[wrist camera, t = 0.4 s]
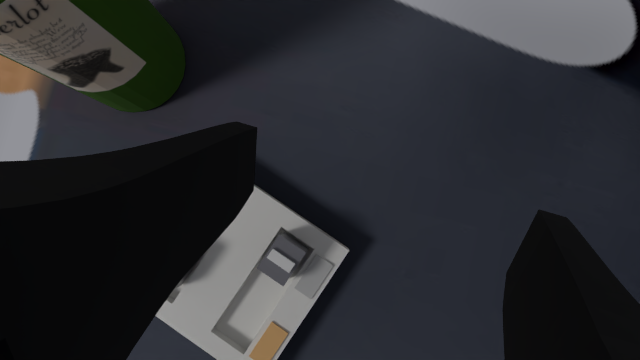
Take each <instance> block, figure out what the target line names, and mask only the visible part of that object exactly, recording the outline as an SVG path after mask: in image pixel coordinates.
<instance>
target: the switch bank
mask: <svg viewBox="0 0 640 360" xmlns="http://www.w3.org/2000/svg"><path fill="white" fill-rule="evenodd" d="M284 232H285V233H287V234H288V235H290V236H291V237H293V238H294V239H296V240H297V241H299V242H300V243H302V244H303V245H304V246H306V247H307V248H308V250H307V252H306V254H305V255H304V256H303V258H302V259H301V261H300V262H299V264H298V265H297V267H296V268H295V270H294V271H293V273H292V274H291V276H290V277H289V279H288V280H287V282H286V283H285V285H284V286H282V285H280V284H279V283H277V282H276V281H274V280H273V279H272V278H270V277H269V276H267V275H266V274H264V273H263V272H261V271H260V270H258V269H257V267H258V265H259V264H260V262H261V261H262V259H263V258H264V257H265V255H266V254H267V252H268V251H269V249H270V248H271V246H272V245H273V243H274V242H275V240H276V239H277V237H278V236H279V234H281V233H284ZM348 252H349V249H348V247H346V246H345V245H343V244H342V243H340V242H339V241H337V240H336V239H334V238H333V237H331V236H330V235H328V234H327V233H325V232H324V231H323V230H321V229H320V228H318V227H317V226H315V225H314V224H312V223H311V222H309V221H308V220H306V219H305V218H303V217H302V216H300V215H299V214H297V213H296V212H294V211H293V210H292V209H290V208H289V207H287V206H286V205H284V204H283V203H281V202H280V201H278V200H277V199H275V198H274V197H272V196H271V195H269V194H268V193H266V192H265V191H263V190H262V189H261V188H259V187H258V186H256V185H255V184H254V191H253V192H252V194H251V196H250V197H249V199H248V200H247V202H246V204H245V205H244V207H243V208H242V210H241V211H240V213H239V214H238V215H237V217H236V218H235V219H234V221H233V222H232V223H231V224H230V225H229V226H228V228H227V229H226V230H225V231H224V232H223V233H222V234H221V235H220V237H219V238H218V239H217V240H216V241H215V242H214V243H213V244H212V246H211V247H210V248H209V249H208V250H207V251H206V252H205V253H204V254H203V256H202V257H201V258H200V259H199V261H198V262H197V264H196V265H195V267H194V268H193V270H192V271H191V273H190V274H189V276H188V277H187V278H186V280H185V281H184V283H183V284H182V285H181V286H179V287H177V288H176V289H174V290H173V291H172V293H171V294H170V295H169V297H168V298H167V300H166V301H165V302H164V304H163V305H162V307H161V308H160V309H159V311H158V312H157V314H156V315H155V316H157V317H158V318H159V319H161V320H162V321H164V322H165V323H166V324H168V325H169V326H171V327H172V328H173V329H175V330H176V331H178V332H179V333H180V334H182V335H183V336H185V337H186V338H187V339H189V340H190V341H192V342H193V343H195V344H196V345H197V346H199V347H200V348H202V349H203V350H204V351H206V352H207V353H209V354H210V355H211V356H213V357H214V358H216V359H217V360H277V359H278V357H279V356H280V354H281V353H282V351H283V350H284V348H285V347H286V345H287V344H288V342H289V341H290V339H291V338H292V336H293V335H294V333H295V332H296V330H297V329H298V327H299V326H300V324H301V323H302V321H303V320H304V318H305V317H306V315H307V314H308V312H309V311H310V309H311V308H312V306H313V305H314V303H315V301H316V300H317V298H318V297H319V295H320V294H321V292H322V291H323V289H324V288H325V286H326V285H327V283H328V282H329V280H330V279H331V277H332V276H333V274H334V273H335V271H336V270H337V268H338V267H339V265H340V264H341V262H342V261H343V259H344V258H345V256H346V255H347V253H348Z"/></svg>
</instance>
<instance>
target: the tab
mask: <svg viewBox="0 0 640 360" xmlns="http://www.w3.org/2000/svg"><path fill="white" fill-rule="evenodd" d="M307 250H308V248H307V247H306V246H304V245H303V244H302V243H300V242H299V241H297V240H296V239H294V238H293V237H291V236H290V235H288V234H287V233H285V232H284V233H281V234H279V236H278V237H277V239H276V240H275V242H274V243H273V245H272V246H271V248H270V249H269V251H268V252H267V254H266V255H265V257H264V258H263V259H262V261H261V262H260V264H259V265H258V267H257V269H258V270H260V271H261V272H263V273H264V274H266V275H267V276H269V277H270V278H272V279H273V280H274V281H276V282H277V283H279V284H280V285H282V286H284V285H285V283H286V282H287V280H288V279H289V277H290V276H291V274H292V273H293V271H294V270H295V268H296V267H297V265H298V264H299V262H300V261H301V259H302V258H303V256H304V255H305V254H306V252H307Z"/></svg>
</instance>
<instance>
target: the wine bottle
mask: <svg viewBox="0 0 640 360" xmlns="http://www.w3.org/2000/svg"><path fill="white" fill-rule="evenodd" d="M0 55H2V56H4V57H7V58H9V59H11V60H13V61H15V62H17V63H19V64H21V65H23V66H26V67H28V68H30V69H32V70H34V71H36V72H38V73H40V74H42V75H45V76H47V77H49V78H51V79H53V80H55V81H57V82H59V83H62V84H64V85H66V86H68V87H70V88H72V89H74V90H76V91H78V92H81V93H83V94H85V95H87V96H89V97H91V98H93V99H95V100H97V101H100V102H102V103H104V104H106V105H108V106H110V107H113V108H115V109H117V110H120V111H126V112H140V111H147V110H150V109H153V108H155V107H158V106H160V105H161V104H163V103H164V102H166V101H167V100H168V99H170V98H171V97H172V95H173V94H174V93H175V92H176V90H177V89H178V88H179V85H180V83H181V81H182V79H183V76H184V71H185V65H186V64H185V53H184V48H183V45H182V43H181V40H180V38H179V36H178V35H177V34H176V32H175V31H174V30H173V28H172V27H171V26H170V25H169V23H168V22H167V21H166V20H165V19H164V18H163V17H162V15H161V14H160V13H159V12H158V11H157V10H156V8H155V7H154V6H153V5H152V4H151V3H150V1H149V0H0Z"/></svg>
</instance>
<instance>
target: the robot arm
mask: <svg viewBox="0 0 640 360" xmlns="http://www.w3.org/2000/svg"><path fill="white" fill-rule="evenodd" d="M256 140H257V127H253V126H250V125H247V124H243V123H240V122H231V123H226V124H222V125H218V126H214V127H210V128H206V129H203V130H199V131H196V132H192V133H188V134H185V135H181V136H178V137H174V138H170V139H166V140H162V141H158V142H154V143H150V144H145V145H141V146H137V147H133V148H128V149H123V150H118V151H112V152H106V153H99V154H93V155H86V156H77V157H66V158H55V159H44V160H31V161H4V162H0V360H126V359H127V358H128V356H129V354H130V353H131V351H132V350H133V348H134V346H135V345H136V343H137V342H138V340H139V339H140V337H141V336H142V334H143V333H144V331H145V330H146V329H147V327H148V326H149V324H150V323H151V321H152V320H153V318H154V317H155V315H156V314H157V312H158V311H159V309H160V308H161V307H162V305H163V304H164V302H165V301H166V300H167V298H168V297H169V295H170V294H171V293H172V291H173V290H174V288H175V287H176V286H177V285H178V283H179V282H180V281H181V280H182V278H183V277H184V276H185V275H186V273H187V272H188V271H189V270H190V269H191V268H192V267H193V266H194V265H195V263H196V262H197V261H198V260H199V259H200V258H201V257H202V256H203V254H204V253H205V252H206V251H207V250H208V249H209V248H210V247H211V246H212V244H213V243H214V242H215V241H216V240H217V239H218V238H219V237H220V235H221V234H222V233H223V232H224V231H225V230H226V229H227V228H228V226H229V225H230V224H231V223H232V222H233V221H234V219H235V218H236V217H237V215H238V214H239V213H240V211H241V210H242V208H243V207H244V205H245V204H246V202H247V200H248V199H249V197H250V196H251V194H252V192H253V191H254V176H255V158H256ZM503 333H504V355H505V360H640V304H639V303H638V302H637V301H636V300H635V299H634V298H633V297H632V295H631V294H630V293H629V292H628V291H627V290H626V289H625V287H624V286H623V285H622V284H621V283H620V282H619V280H618V279H617V278H616V277H615V276H614V274H613V273H612V272H611V271H610V270H609V268H608V267H607V266H606V265H605V263H604V262H603V261H602V260H601V258H600V257H599V256H598V255H597V254H596V252H595V251H594V250H593V248H592V247H591V246H590V245H589V243H588V242H587V241H586V240H585V238H584V237H583V236H582V235H581V233H580V232H579V231H578V230H577V228H576V227H575V226H574V225H573V224H572V223H571V222H570V220H569V219H568V218H566V217H563V216H560V215H556V214H553V213H549V212H546V211H542V210H538V212H537V214H536V216H535V218H534V220H533V222H532V224H531V226H530V228H529V230H528V232H527V234H526V236H525V238H524V240H523V241H522V243H521V245H520V247H519V249H518V251H517V253H516V255H515V257H514V259H513V261H512V263H511V265H510V267H509V269H508V271H507V273H506V282H505V290H504V300H503Z"/></svg>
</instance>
